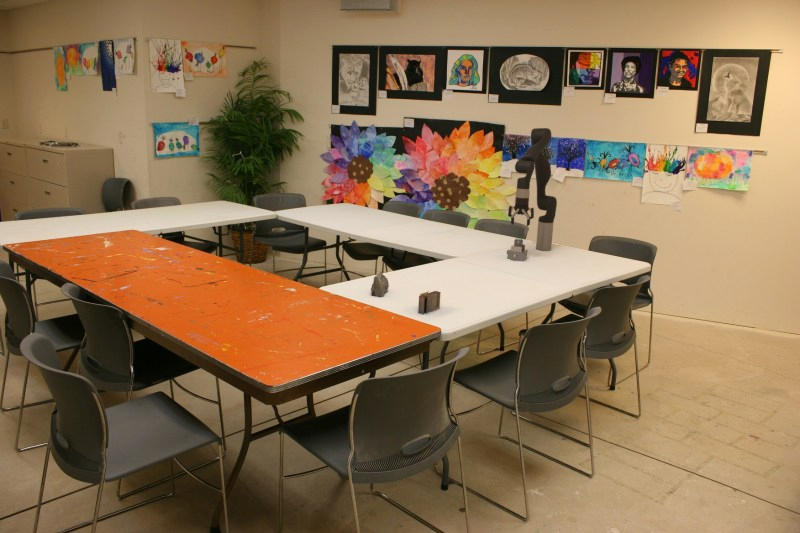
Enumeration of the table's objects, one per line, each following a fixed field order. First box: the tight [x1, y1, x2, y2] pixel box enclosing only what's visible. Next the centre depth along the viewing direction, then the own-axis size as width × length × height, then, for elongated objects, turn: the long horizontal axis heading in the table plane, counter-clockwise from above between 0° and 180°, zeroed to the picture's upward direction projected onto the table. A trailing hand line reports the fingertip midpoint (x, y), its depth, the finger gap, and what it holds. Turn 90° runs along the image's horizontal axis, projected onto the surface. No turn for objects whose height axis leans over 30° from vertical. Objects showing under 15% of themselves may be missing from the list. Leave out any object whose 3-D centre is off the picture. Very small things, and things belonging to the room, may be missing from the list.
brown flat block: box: [417, 290, 442, 315], centre depth 276 cm, size 11×3×10 cm, turn 141°
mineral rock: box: [370, 271, 390, 297], centre depth 299 cm, size 13×11×10 cm
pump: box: [513, 237, 524, 247], centre depth 383 cm, size 5×5×7 cm
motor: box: [506, 243, 528, 262], centre depth 384 cm, size 12×11×8 cm
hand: (520, 225), depth 381 cm, fingers open, 8 cm apart
